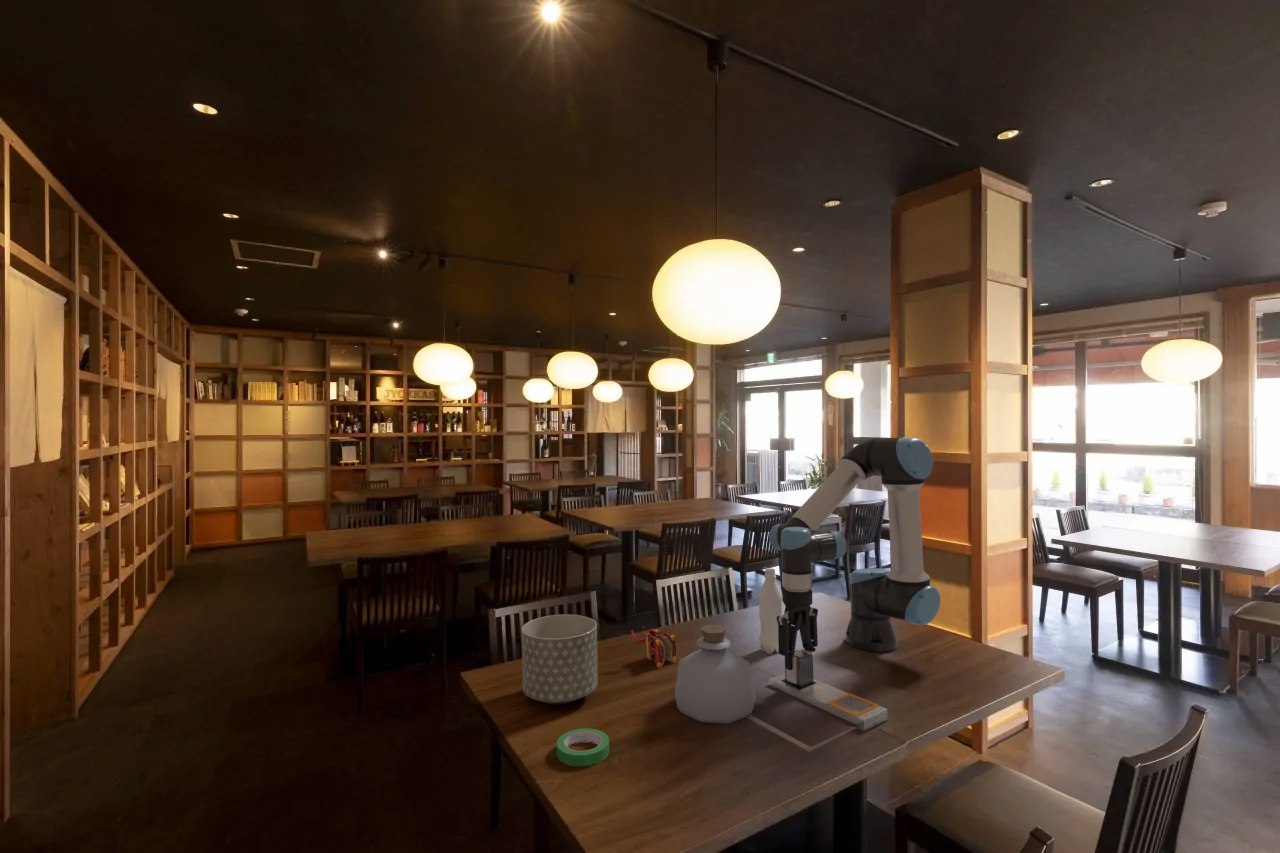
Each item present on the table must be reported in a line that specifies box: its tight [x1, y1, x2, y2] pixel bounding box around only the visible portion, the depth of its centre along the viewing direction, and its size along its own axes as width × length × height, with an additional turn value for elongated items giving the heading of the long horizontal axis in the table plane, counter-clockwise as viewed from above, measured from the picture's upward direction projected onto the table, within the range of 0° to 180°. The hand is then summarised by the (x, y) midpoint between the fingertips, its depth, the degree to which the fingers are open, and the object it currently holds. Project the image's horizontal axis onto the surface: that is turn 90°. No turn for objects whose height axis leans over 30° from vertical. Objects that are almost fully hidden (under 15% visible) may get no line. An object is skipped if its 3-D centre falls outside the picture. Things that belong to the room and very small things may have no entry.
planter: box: [521, 614, 599, 705], centre depth 149 cm, size 19×19×18 cm
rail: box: [768, 672, 888, 732], centre depth 143 cm, size 9×28×3 cm, turn 35°
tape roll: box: [556, 727, 610, 767], centre depth 123 cm, size 11×11×3 cm
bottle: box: [674, 624, 757, 725], centre depth 143 cm, size 20×20×19 cm
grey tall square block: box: [784, 649, 814, 690], centre depth 150 cm, size 5×5×8 cm
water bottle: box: [758, 567, 784, 655], centre depth 178 cm, size 7×7×25 cm
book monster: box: [630, 629, 678, 669], centre depth 170 cm, size 11×9×12 cm
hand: (799, 678), depth 150 cm, fingers closed on grey tall square block, 5 cm apart
